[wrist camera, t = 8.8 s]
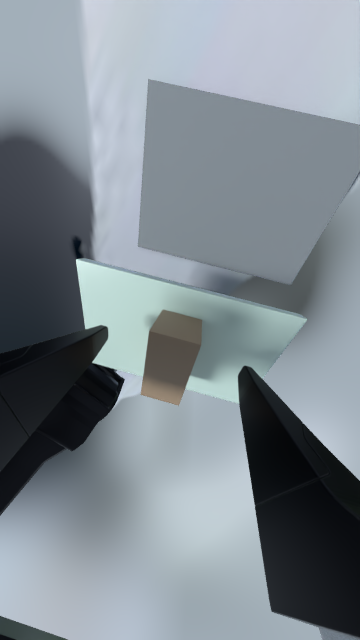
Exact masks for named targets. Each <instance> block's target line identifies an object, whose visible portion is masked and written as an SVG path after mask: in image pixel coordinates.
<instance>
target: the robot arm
mask: <svg viewBox="0 0 360 640" xmlns="http://www.w3.org/2000/svg"><path fill="white" fill-rule="evenodd" d="M107 340H108V327H107V326H104V325H99V326H96V327H92V328H89V329H85V330H82V331H78V332H75V333H71V334H68V335H65V336H61V337H57V338H54V339H50V340H47V341H43V342H40V343H36V344H33V345H29V346H26V347H22V348H19V349H15V350H12V351H8V352H4V353H0V515H1V514H2V513H3V512H4V510H5V509H6V508H7V507H8V506H9V504H10V503H11V502H12V501H13V500H14V498H15V497H16V496H17V495H18V493H19V492H20V491H21V490H22V489H23V488H24V486H25V485H26V484H27V483H28V482H29V480H30V479H31V478H32V477H33V476H34V474H35V473H36V472H37V471H38V469H39V468H40V467H41V466H42V465H43V464H44V463H45V462H46V461H48V460H49V459H51V458H52V457H54V456H56V455H58V454H59V453H61V452H62V451H64V450H66V449H68V450H70V451H73V450H75V449H76V448H78V447H79V446H80V445H81V444H83V443H84V442H85V440H86V439H87V437H88V436H89V434H90V433H91V431H92V430H93V429H94V427H95V426H96V424H97V423H98V422H99V421H100V420H102V419H103V418H104V417H105V416H107V414H108V413H109V412H110V411H111V410H112V408H113V407H114V405H115V403H116V402H117V399H118V397H119V394H120V391H121V388H122V386H123V383H124V380H125V379H124V378H122V377H120V376H119V375H118V374H117V373H116V371H117V370H116V369H113V368H109V367H106V366H102V365H98V364H95V363H92V362H93V360H94V359H95V358H96V356H97V355H98V353H99V352H100V350H101V349H102V347H103V346H104V344H105V343H106V341H107ZM238 394H239V405H240V412H241V418H242V424H243V431H244V437H245V444H246V451H247V457H248V464H249V470H250V477H251V483H252V490H253V496H254V502H255V510H256V517H257V523H258V530H259V536H260V542H261V549H262V556H263V562H264V569H265V575H266V582H267V588H268V594H269V601H270V606H271V610H272V612H274V613H277V614H280V615H283V616H286V617H289V618H292V619H295V620H298V621H301V622H304V623H307V624H310V625H313V626H316V627H319V630H320V633H321V636H322V639H323V640H360V481H359V480H358V479H357V478H356V477H355V476H354V475H353V474H352V473H351V472H350V471H349V470H348V469H347V468H346V467H345V466H344V465H343V464H342V463H341V462H340V461H339V460H338V459H337V458H336V457H335V456H334V455H333V454H332V453H331V452H330V451H329V450H328V449H327V448H326V447H325V446H324V445H323V444H322V443H321V442H320V441H319V440H318V438H317V437H316V436H314V434H313V433H312V432H311V431H310V430H309V429H308V428H307V427H306V426H305V425H304V424H303V423H302V421H301V420H300V419H299V418H298V417H297V416H296V415H295V414H294V413H293V412H292V411H291V410H290V408H289V407H288V406H287V405H286V404H285V403H284V402H283V401H282V400H281V399H280V398H279V397H278V395H277V394H276V393H275V392H274V391H273V390H272V389H271V388H270V387H269V386H268V385H267V384H266V383H265V382H264V380H263V379H262V378H261V377H260V376H259V375H258V374H257V373H256V372H255V371H254V369H253V368H252V367H249V366H246V365H245V366H243V367H242V369H241V371H240V372H239V374H238ZM0 640H67V639H65V638H62V637H59V636H56V635H53V634H50V633H47V632H45V631H42V630H39V629H36V628H33V627H30V626H27V625H25V624H22V623H19V622H16V621H13V620H10V619H7V618H4V617H1V616H0Z"/></svg>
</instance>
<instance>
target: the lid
mask: <svg viewBox="0 0 360 640" xmlns="http://www.w3.org/2000/svg"><path fill="white" fill-rule="evenodd" d="M76 263H77V270H78V278H79V285H80V293H81V300H82V307H83V314H84V322H85V328H86V329H89V328H92V327H96V326H99V325H104V326H107V327H108V340H107V341H106V343H105V344H104V346H103V347H102V349H101V350H100V352H99V353H98V355H97V356H96V358H95V359H94V360H93V362H92V363H95V364H98V365H102V366H106V367H109V368H113V369H116V370H120V371H123V372H127V373H131V374H134V375H138V376H141V377H143V382H142V389H141V395H144V396H147V397H151V398H154V399H158V400H161V401H165V402H169V403H172V404H175V405H179V404H180V401H181V398H182V395H183V393H184V390H185V389H188V390H191V391H195V392H199V393H202V394H205V395H209V396H213V397H216V398H220V399H223V400H227V401H230V402H234V403H238V404H239V394H238V374H239V372H240V371H241V369H242V367H243V366H245V365H246V366H249V367H252V368H253V369H254V371H255V372H256V373H257V374H258V375H259V376H260V377H261V378H262V379H263V377H264V376H265V375H266V374H267V372H268V371H269V369H270V368H271V367H272V366H273V364H274V363H275V362H276V360H277V359H278V358H279V356H280V355H281V354H282V352H283V351H284V349H286V347H287V346H288V344H289V343H290V342H291V341H292V339H293V338H294V337H295V335H296V334H297V333H298V331H299V330H300V329H301V327H302V326H303V325H304V323H305V322H306V321H307V319H306V318H305V317H304V316H302V315H301V314H298V313H294V312H290V311H286V310H282V309H278V308H274V307H271V306H267V305H263V304H259V303H255V302H252V301H248V300H244V299H240V298H236V297H232V296H228V295H225V294H221V293H217V292H213V291H209V290H205V289H201V288H197V287H194V286H190V285H186V284H182V283H178V282H174V281H170V280H166V279H163V278H159V277H155V276H151V275H147V274H143V273H139V272H135V271H132V270H128V269H124V268H120V267H116V266H112V265H108V264H105V263H101V262H97V261H93V260H89V259H85V258H83V259H76Z"/></svg>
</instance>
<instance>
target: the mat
mask: <svg viewBox="0 0 360 640" xmlns="http://www.w3.org/2000/svg"><path fill="white" fill-rule="evenodd" d="M359 172H360V125H358V124H353V123H349V122H344V121H339V120H335V119H330V118H325V117H321V116H316V115H312V114H307V113H302V112H298V111H293V110H288V109H284V108H279V107H275V106H270V105H265V104H261V103H256V102H251V101H247V100H242V99H237V98H233V97H228V96H224V95H219V94H214V93H210V92H205V91H200V90H196V89H191V88H187V87H182V86H177V85H173V84H168V83H163V82H159V81H154V80H149V79H148V93H147V109H146V125H145V142H144V158H143V174H142V190H141V206H140V223H139V239H138V247H142V248H146V249H150V250H154V251H158V252H162V253H165V254H169V255H173V256H177V257H181V258H185V259H189V260H193V261H197V262H201V263H205V264H209V265H213V266H217V267H221V268H225V269H229V270H233V271H237V272H241V273H245V274H249V275H253V276H257V277H261V278H265V279H269V280H272V281H276V282H281V283H284V284H289V285H291V284H292V282H293V281H294V279H295V277H296V275H297V274H298V272H299V271H300V269H301V267H302V266H303V264H304V262H305V261H306V259H307V258H308V256H309V254H310V252H311V251H312V249H313V248H314V246H315V244H316V243H317V241H318V239H319V238H320V236H321V234H322V233H323V231H324V230H325V228H326V226H327V224H328V223H329V221H330V220H331V218H332V216H333V215H334V213H335V211H336V210H337V208H338V207H339V205H340V203H341V202H342V200H343V198H344V197H345V195H346V193H347V192H348V190H349V188H350V187H351V185H352V183H353V182H354V180H355V179H356V177H357V175H358V174H359Z"/></svg>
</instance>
